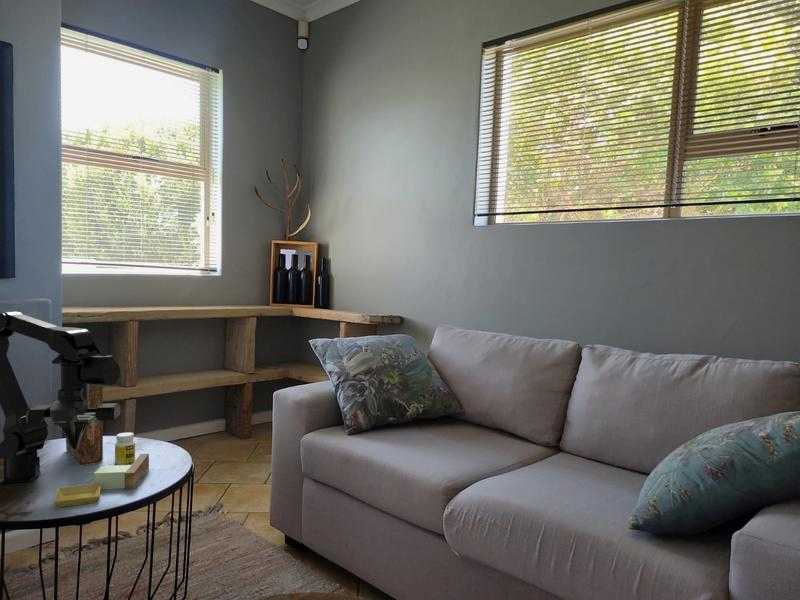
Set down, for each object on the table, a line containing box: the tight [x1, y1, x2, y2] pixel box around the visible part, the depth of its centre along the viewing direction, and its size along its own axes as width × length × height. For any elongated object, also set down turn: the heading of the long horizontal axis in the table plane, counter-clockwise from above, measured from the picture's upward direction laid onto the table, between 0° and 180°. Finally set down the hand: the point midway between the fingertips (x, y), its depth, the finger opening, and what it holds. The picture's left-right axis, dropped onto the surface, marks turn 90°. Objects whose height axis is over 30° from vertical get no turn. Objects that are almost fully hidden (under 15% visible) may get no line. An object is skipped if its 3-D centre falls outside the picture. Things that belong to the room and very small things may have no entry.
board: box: [124, 453, 150, 491], centre depth 138 cm, size 2×14×4 cm, turn 11°
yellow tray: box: [53, 482, 101, 508], centre depth 126 cm, size 9×9×2 cm
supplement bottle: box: [114, 432, 136, 465], centre depth 147 cm, size 5×5×8 cm
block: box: [93, 464, 131, 490], centre depth 135 cm, size 7×5×4 cm
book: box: [65, 384, 104, 466], centre depth 154 cm, size 16×6×25 cm, turn 43°
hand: (75, 448), depth 134 cm, fingers closed
